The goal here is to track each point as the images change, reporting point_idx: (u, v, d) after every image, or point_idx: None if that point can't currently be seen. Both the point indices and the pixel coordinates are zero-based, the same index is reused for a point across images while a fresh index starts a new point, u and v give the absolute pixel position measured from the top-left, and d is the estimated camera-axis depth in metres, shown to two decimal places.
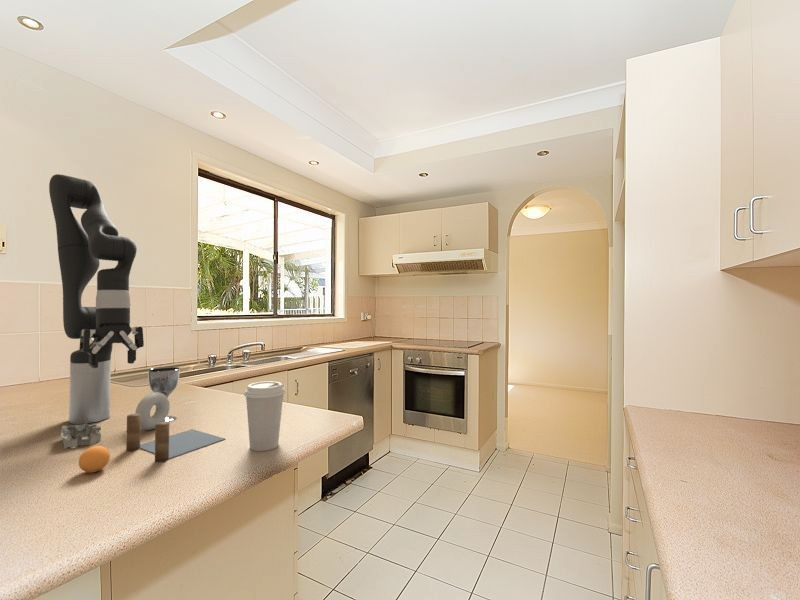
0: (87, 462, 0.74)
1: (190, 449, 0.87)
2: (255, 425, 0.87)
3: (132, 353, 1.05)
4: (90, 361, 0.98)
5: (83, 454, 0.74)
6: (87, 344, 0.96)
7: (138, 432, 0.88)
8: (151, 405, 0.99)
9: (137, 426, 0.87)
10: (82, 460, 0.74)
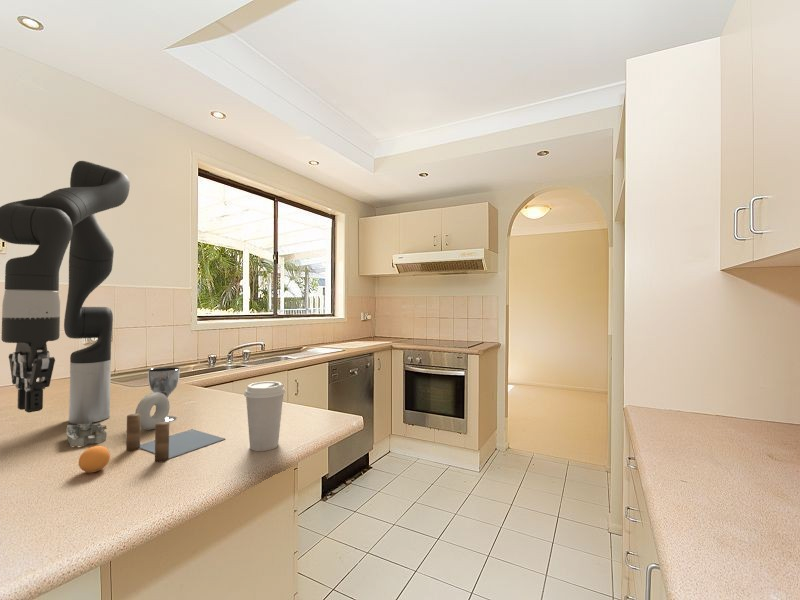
0: (87, 462, 0.74)
1: (190, 449, 0.87)
2: (255, 425, 0.87)
3: (25, 396, 0.66)
4: None
5: (83, 454, 0.74)
6: (12, 373, 0.69)
7: (138, 432, 0.88)
8: (151, 405, 0.99)
9: (137, 426, 0.87)
10: (82, 460, 0.74)
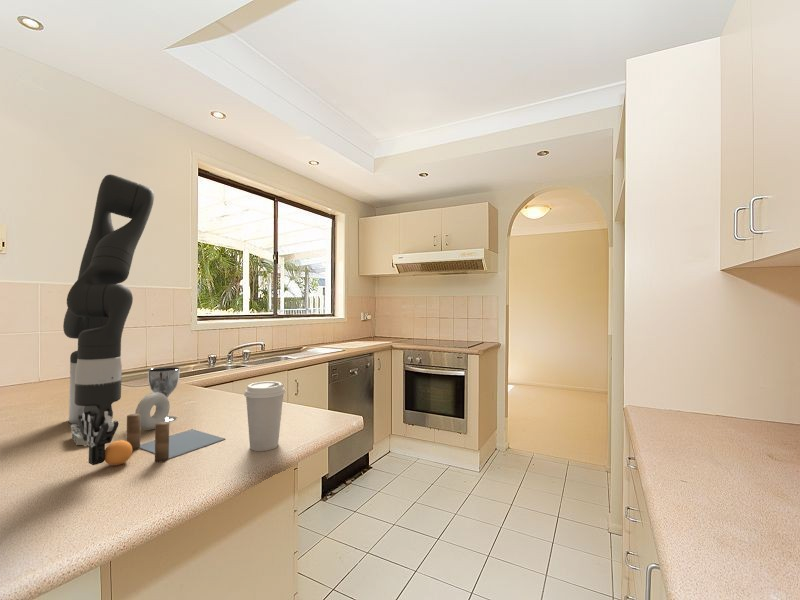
0: (120, 447, 0.78)
1: (190, 449, 0.87)
2: (255, 425, 0.87)
3: (91, 451, 0.76)
4: None
5: None
6: (83, 431, 0.77)
7: (138, 432, 0.88)
8: (151, 405, 0.99)
9: (137, 426, 0.87)
10: (119, 442, 0.79)
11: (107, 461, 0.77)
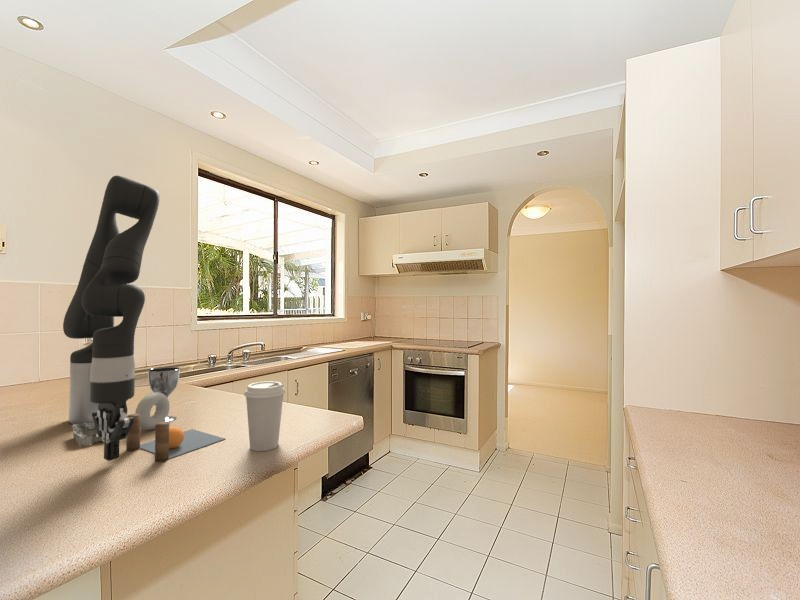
0: (169, 444, 0.86)
1: (190, 449, 0.87)
2: (255, 425, 0.87)
3: (106, 447, 0.78)
4: None
5: None
6: (97, 428, 0.79)
7: (138, 432, 0.88)
8: (151, 405, 0.99)
9: (137, 426, 0.87)
10: None
11: None
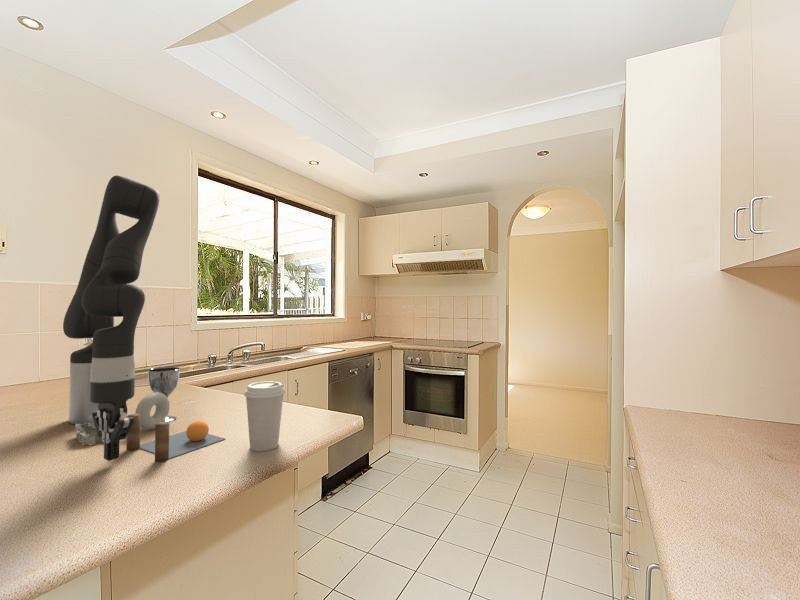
0: (203, 425, 0.93)
1: (190, 449, 0.87)
2: (255, 425, 0.87)
3: (106, 447, 0.78)
4: None
5: None
6: (97, 428, 0.79)
7: (138, 432, 0.88)
8: (151, 405, 0.99)
9: (137, 426, 0.87)
10: (203, 422, 0.94)
11: (189, 434, 0.91)
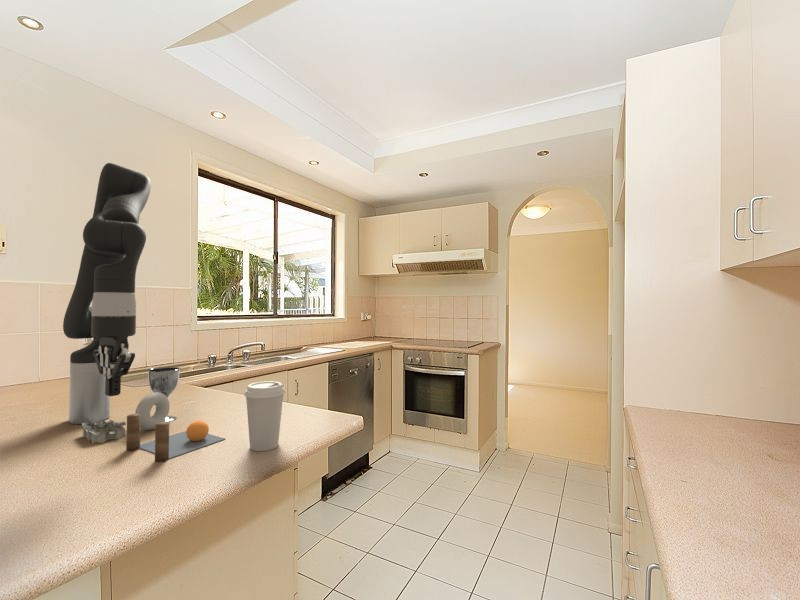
0: (203, 425, 0.93)
1: (190, 449, 0.87)
2: (255, 425, 0.87)
3: (107, 382, 0.78)
4: None
5: None
6: (99, 365, 0.79)
7: (138, 432, 0.88)
8: (151, 405, 0.99)
9: (137, 426, 0.87)
10: (203, 422, 0.94)
11: (189, 434, 0.91)
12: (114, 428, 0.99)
